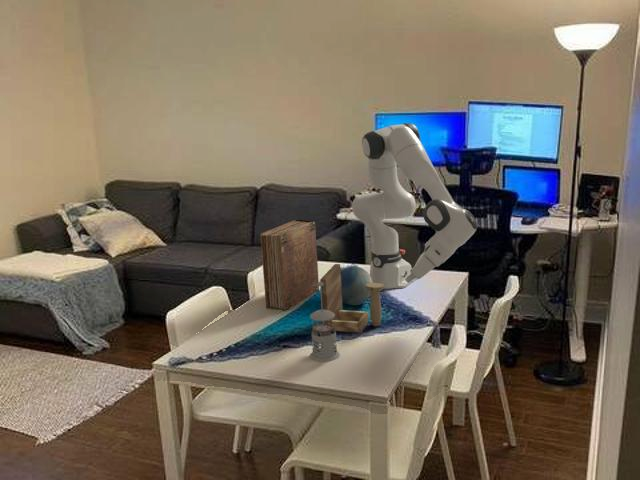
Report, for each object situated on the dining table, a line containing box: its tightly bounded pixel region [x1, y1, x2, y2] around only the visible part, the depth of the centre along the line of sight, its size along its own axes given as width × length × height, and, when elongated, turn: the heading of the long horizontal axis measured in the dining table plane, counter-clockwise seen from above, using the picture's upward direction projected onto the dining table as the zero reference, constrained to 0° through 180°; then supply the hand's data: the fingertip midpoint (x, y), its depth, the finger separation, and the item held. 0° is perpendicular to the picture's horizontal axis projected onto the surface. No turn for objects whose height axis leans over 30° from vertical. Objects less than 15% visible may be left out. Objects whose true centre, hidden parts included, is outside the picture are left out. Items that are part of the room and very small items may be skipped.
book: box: [259, 219, 320, 312], centre depth 261 cm, size 25×9×30 cm, turn 149°
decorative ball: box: [341, 265, 373, 306], centre depth 254 cm, size 15×15×15 cm
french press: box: [309, 281, 341, 363], centre depth 210 cm, size 10×12×25 cm
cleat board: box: [319, 263, 370, 333], centre depth 232 cm, size 13×18×20 cm
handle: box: [366, 283, 384, 327], centre depth 232 cm, size 5×6×15 cm
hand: (409, 276), depth 225 cm, fingers open, 8 cm apart
